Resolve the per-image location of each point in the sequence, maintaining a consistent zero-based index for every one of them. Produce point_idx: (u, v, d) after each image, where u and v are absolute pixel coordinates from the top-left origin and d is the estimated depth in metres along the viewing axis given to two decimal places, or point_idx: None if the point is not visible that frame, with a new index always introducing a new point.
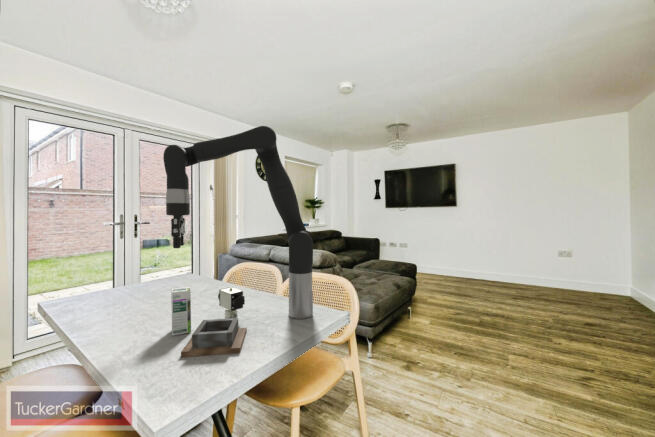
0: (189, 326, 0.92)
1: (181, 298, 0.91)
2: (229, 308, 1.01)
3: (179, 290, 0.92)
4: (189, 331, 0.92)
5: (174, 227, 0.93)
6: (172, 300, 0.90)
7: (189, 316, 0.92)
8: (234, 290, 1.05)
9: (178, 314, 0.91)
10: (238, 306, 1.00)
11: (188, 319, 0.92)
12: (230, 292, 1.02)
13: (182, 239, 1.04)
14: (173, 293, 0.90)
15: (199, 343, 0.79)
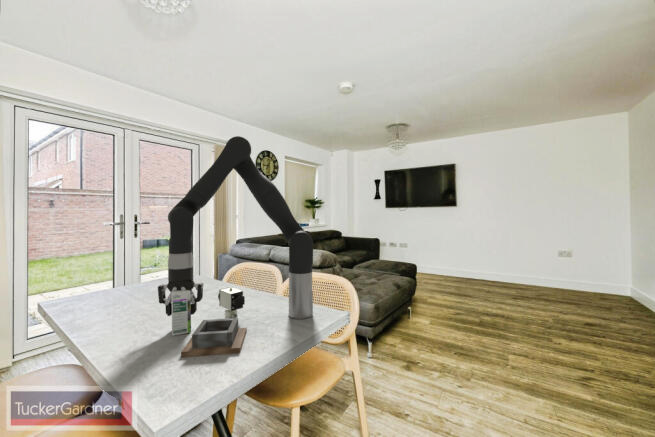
0: (189, 326, 0.92)
1: (181, 298, 0.91)
2: (229, 308, 1.01)
3: (179, 290, 0.92)
4: (189, 331, 0.92)
5: (201, 292, 0.94)
6: (172, 300, 0.90)
7: (189, 316, 0.92)
8: (234, 290, 1.05)
9: (178, 314, 0.91)
10: (238, 306, 1.00)
11: (188, 319, 0.92)
12: (230, 292, 1.02)
13: (171, 307, 0.94)
14: (173, 293, 0.90)
15: (199, 343, 0.79)
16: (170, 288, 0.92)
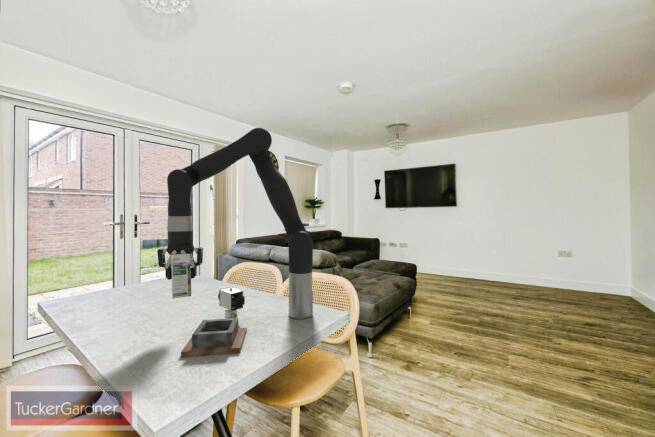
0: (189, 290, 0.92)
1: (181, 261, 0.91)
2: (229, 308, 1.01)
3: None
4: (189, 295, 0.92)
5: (201, 256, 0.94)
6: (172, 263, 0.90)
7: (189, 280, 0.92)
8: (234, 290, 1.05)
9: (178, 277, 0.90)
10: (238, 306, 1.00)
11: (188, 282, 0.92)
12: (230, 292, 1.02)
13: (171, 271, 0.93)
14: (173, 256, 0.90)
15: (199, 343, 0.79)
16: (170, 251, 0.92)
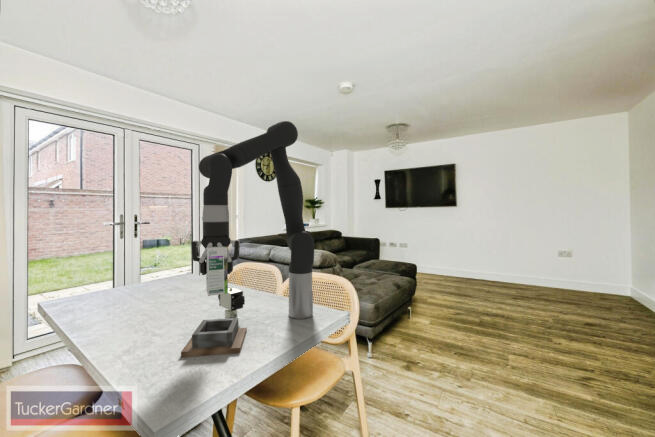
0: (226, 286, 0.83)
1: (218, 254, 0.82)
2: (229, 308, 1.01)
3: (215, 246, 0.83)
4: (226, 292, 0.83)
5: (238, 250, 0.85)
6: (208, 256, 0.81)
7: (226, 275, 0.83)
8: (234, 290, 1.05)
9: (214, 272, 0.82)
10: (238, 306, 1.00)
11: (225, 278, 0.83)
12: (230, 292, 1.02)
13: (205, 266, 0.85)
14: (209, 249, 0.81)
15: (199, 343, 0.79)
16: (205, 244, 0.83)
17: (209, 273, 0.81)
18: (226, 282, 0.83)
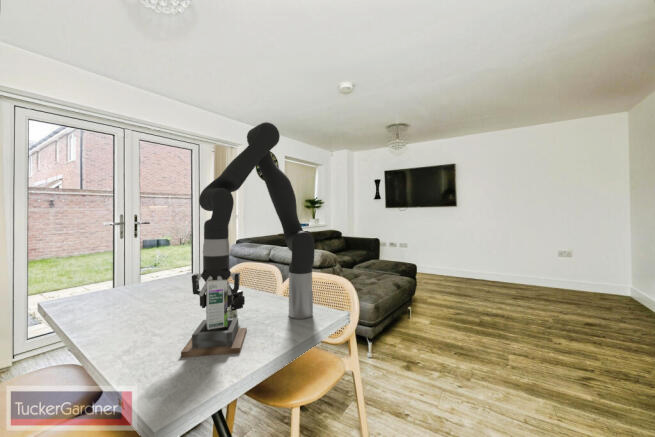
0: (226, 319, 0.84)
1: (218, 288, 0.83)
2: (229, 308, 1.01)
3: (215, 280, 0.83)
4: (225, 325, 0.84)
5: (238, 282, 0.86)
6: (208, 290, 0.81)
7: (226, 308, 0.84)
8: None
9: (214, 306, 0.82)
10: (238, 306, 1.00)
11: (225, 312, 0.83)
12: None
13: (205, 299, 0.85)
14: (209, 283, 0.82)
15: (199, 343, 0.79)
16: (205, 277, 0.83)
17: (209, 307, 0.82)
18: (226, 315, 0.84)
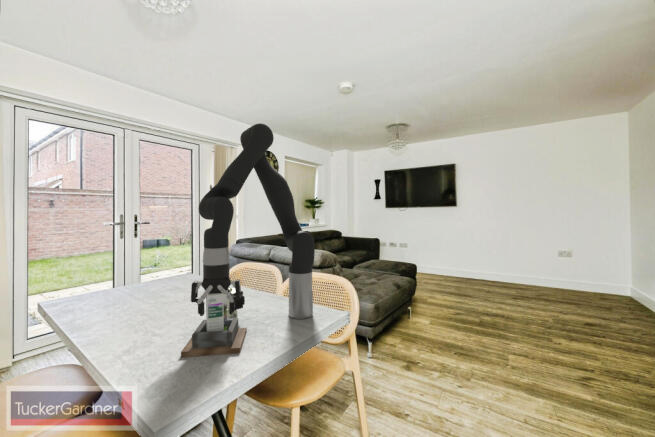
0: None
1: (217, 302, 0.82)
2: None
3: (214, 293, 0.83)
4: None
5: (239, 289, 0.86)
6: (207, 304, 0.81)
7: (225, 322, 0.83)
8: (234, 290, 1.05)
9: (214, 320, 0.82)
10: (238, 306, 1.00)
11: (225, 325, 0.83)
12: None
13: (203, 306, 0.85)
14: (208, 297, 0.82)
15: (199, 343, 0.79)
16: (205, 286, 0.83)
17: (208, 321, 0.82)
18: (225, 329, 0.84)
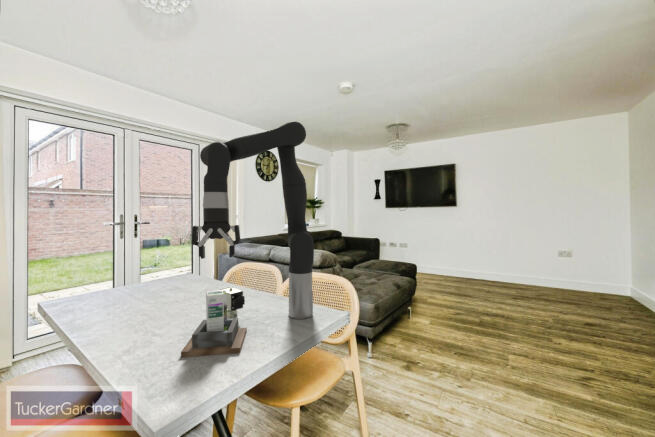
0: None
1: (217, 302, 0.83)
2: (229, 308, 1.01)
3: (215, 293, 0.83)
4: None
5: (239, 234, 0.89)
6: (207, 304, 0.81)
7: (225, 322, 0.83)
8: (234, 290, 1.05)
9: (214, 320, 0.82)
10: (238, 306, 1.00)
11: (225, 325, 0.83)
12: (230, 292, 1.02)
13: (204, 250, 0.88)
14: (208, 297, 0.82)
15: (199, 343, 0.79)
16: (205, 229, 0.86)
17: (209, 321, 0.82)
18: (225, 329, 0.84)
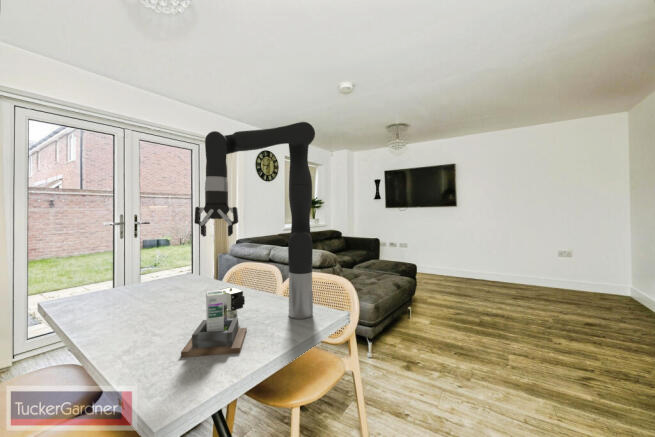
0: None
1: (217, 302, 0.83)
2: (229, 308, 1.01)
3: (215, 293, 0.83)
4: None
5: (237, 215, 0.98)
6: (207, 304, 0.81)
7: (225, 322, 0.83)
8: (234, 290, 1.05)
9: (214, 320, 0.82)
10: (238, 306, 1.00)
11: (225, 325, 0.83)
12: (230, 292, 1.02)
13: (205, 229, 0.98)
14: (209, 297, 0.82)
15: (199, 343, 0.79)
16: (207, 210, 0.96)
17: (209, 321, 0.82)
18: (225, 329, 0.84)
